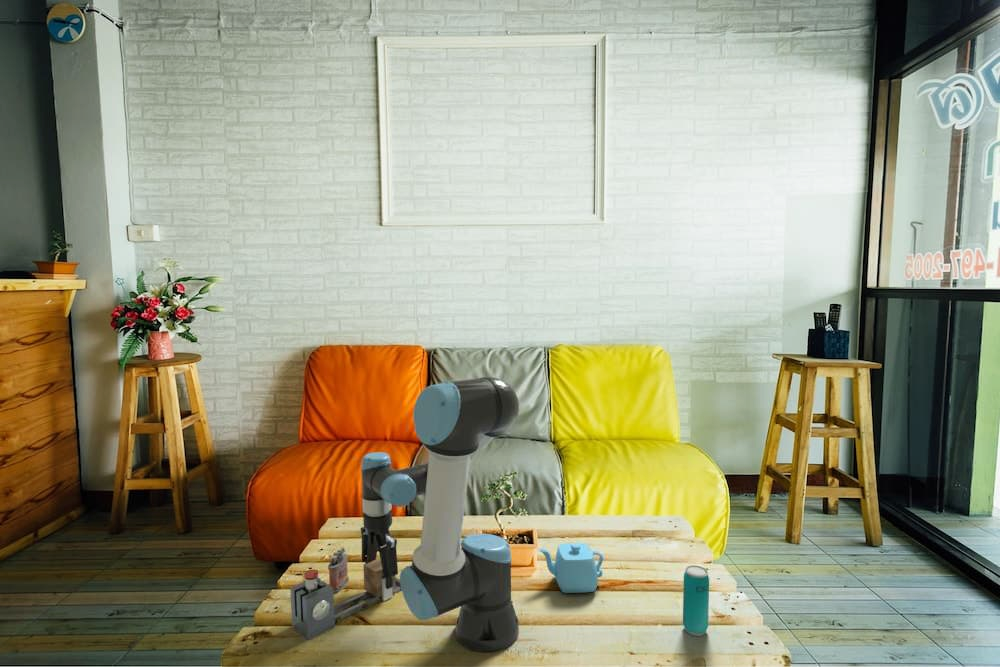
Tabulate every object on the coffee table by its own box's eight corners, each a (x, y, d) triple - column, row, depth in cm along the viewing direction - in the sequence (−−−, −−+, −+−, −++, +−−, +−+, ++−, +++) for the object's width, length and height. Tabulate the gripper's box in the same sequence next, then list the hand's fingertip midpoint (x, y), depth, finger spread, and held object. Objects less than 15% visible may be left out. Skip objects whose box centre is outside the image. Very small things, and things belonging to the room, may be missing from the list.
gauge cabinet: (335, 627, 139) (334, 588, 138) (308, 640, 134) (307, 600, 133) (318, 614, 145) (316, 576, 144) (292, 626, 140) (290, 587, 139)
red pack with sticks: (337, 594, 154) (336, 559, 153) (326, 593, 154) (324, 558, 153) (351, 579, 162) (350, 545, 161) (340, 578, 162) (339, 544, 161)
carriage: (395, 588, 153) (395, 564, 153) (377, 597, 149) (376, 572, 149) (382, 580, 158) (382, 556, 157) (364, 589, 153) (363, 564, 153)
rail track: (404, 589, 156) (404, 582, 156) (306, 638, 135) (305, 630, 135) (392, 581, 160) (391, 575, 160) (294, 627, 139) (293, 620, 139)
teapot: (535, 574, 163) (535, 536, 162) (597, 572, 164) (597, 534, 163) (541, 598, 151) (541, 557, 150) (608, 596, 152) (608, 554, 151)
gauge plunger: (321, 599, 139) (320, 572, 138) (309, 604, 137) (308, 577, 136) (315, 594, 141) (313, 568, 141) (302, 599, 139) (301, 573, 138)
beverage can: (713, 635, 134) (714, 574, 133) (692, 639, 133) (693, 578, 131) (698, 621, 140) (699, 563, 139) (677, 625, 138) (678, 566, 137)
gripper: (410, 516, 148) (413, 601, 150) (369, 498, 161) (372, 576, 163) (386, 526, 142) (389, 613, 144) (346, 505, 155) (349, 586, 157)
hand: (380, 593), depth 154 cm, fingers open, 6 cm apart
